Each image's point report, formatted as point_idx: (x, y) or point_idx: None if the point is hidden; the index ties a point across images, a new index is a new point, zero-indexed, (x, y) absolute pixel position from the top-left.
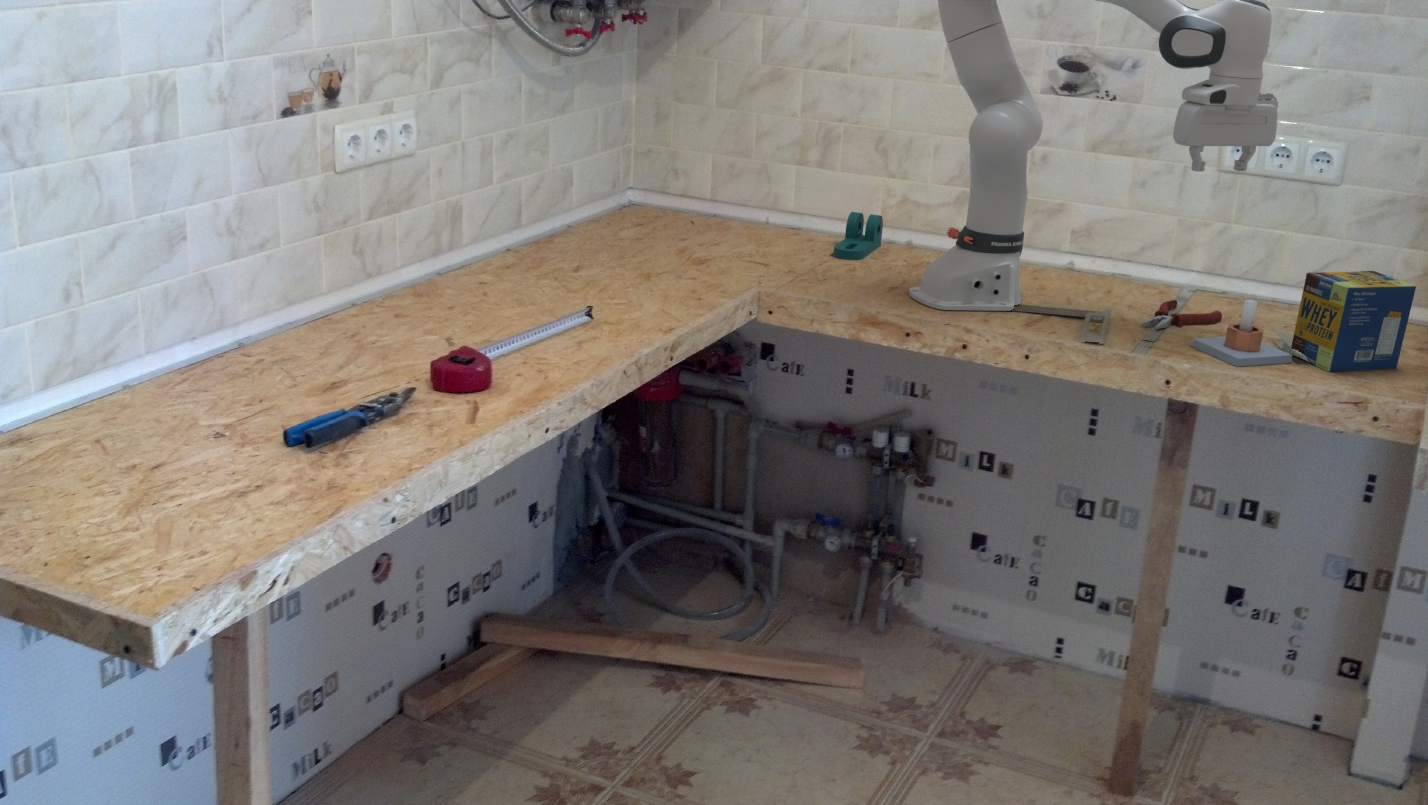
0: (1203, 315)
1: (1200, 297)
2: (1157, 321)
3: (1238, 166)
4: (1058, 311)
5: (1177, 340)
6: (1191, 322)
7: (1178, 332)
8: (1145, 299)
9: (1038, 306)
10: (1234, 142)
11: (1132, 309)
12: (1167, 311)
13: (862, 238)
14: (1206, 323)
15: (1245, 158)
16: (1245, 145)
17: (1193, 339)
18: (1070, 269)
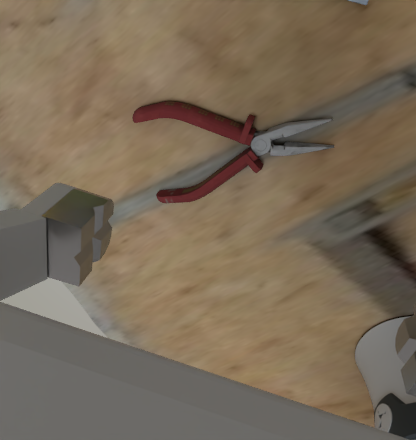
0: (190, 113)
1: None
2: (287, 144)
3: (96, 228)
4: (370, 271)
5: (346, 54)
6: (219, 116)
7: (288, 93)
8: (164, 244)
9: (373, 300)
10: (187, 399)
11: (235, 222)
12: (243, 158)
13: None
14: (188, 104)
15: (22, 240)
16: (10, 308)
17: (366, 4)
18: None
